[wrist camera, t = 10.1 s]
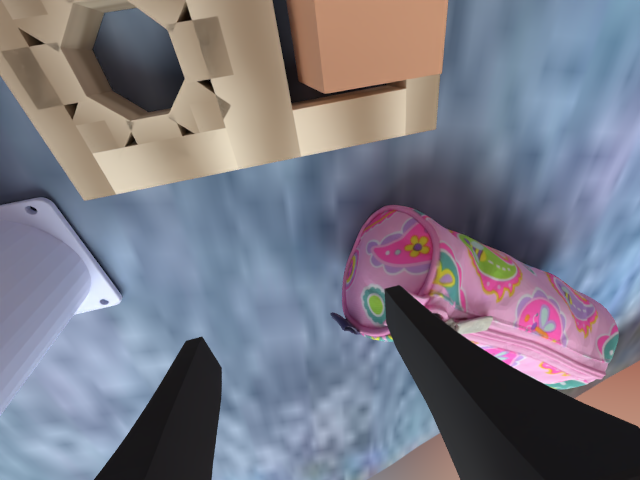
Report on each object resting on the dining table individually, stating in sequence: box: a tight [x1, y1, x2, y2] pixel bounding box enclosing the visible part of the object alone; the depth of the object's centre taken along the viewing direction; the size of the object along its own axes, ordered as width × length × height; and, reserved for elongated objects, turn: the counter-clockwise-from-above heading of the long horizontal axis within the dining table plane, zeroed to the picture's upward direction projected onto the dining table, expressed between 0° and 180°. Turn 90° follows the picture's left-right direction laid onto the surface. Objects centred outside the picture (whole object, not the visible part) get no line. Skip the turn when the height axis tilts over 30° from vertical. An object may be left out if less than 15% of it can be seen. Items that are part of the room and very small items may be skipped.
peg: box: [286, 0, 448, 94], centre depth 11 cm, size 4×4×7 cm
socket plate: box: [0, 0, 440, 201], centre depth 13 cm, size 18×10×2 cm, turn 98°
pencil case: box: [331, 205, 619, 389], centre depth 21 cm, size 21×9×9 cm, turn 60°
